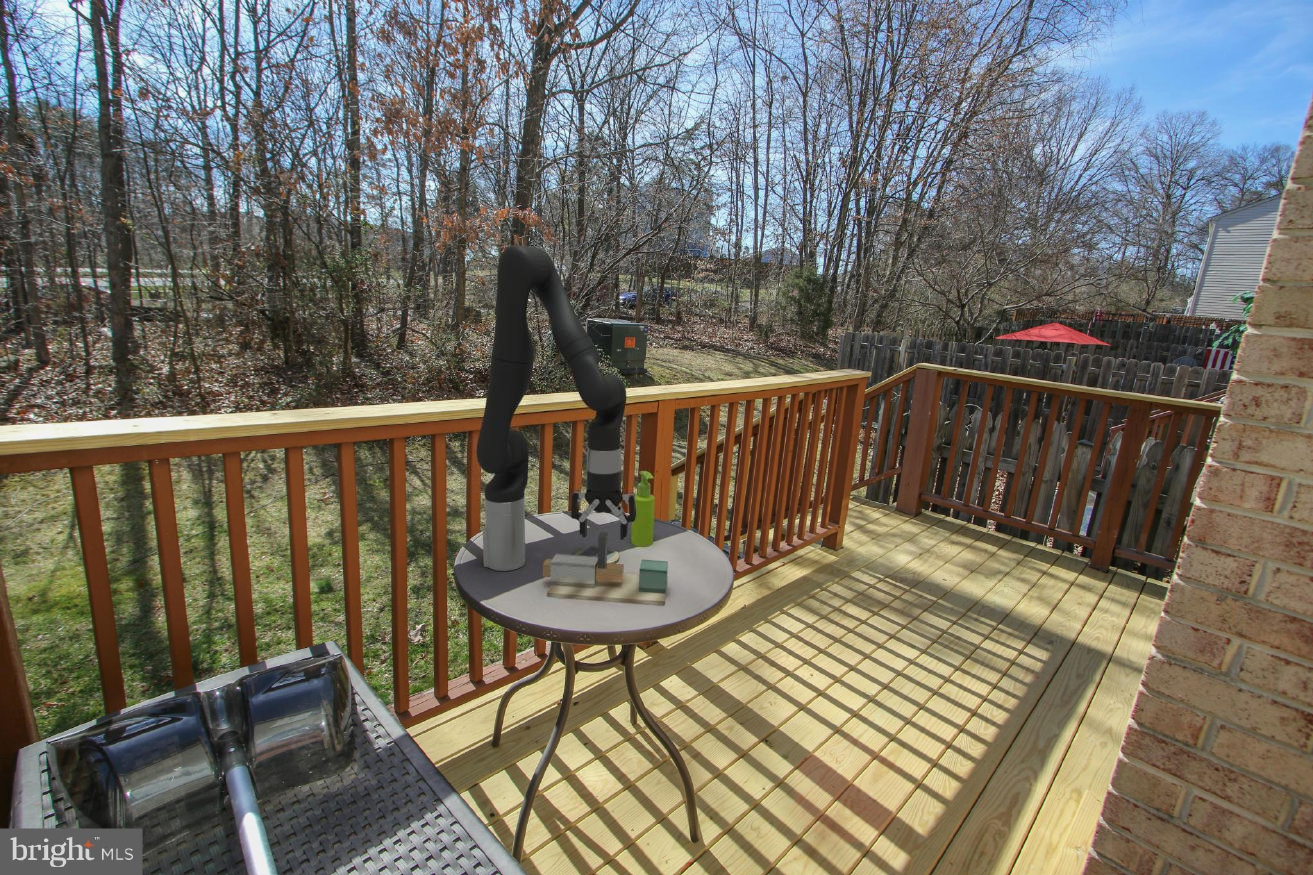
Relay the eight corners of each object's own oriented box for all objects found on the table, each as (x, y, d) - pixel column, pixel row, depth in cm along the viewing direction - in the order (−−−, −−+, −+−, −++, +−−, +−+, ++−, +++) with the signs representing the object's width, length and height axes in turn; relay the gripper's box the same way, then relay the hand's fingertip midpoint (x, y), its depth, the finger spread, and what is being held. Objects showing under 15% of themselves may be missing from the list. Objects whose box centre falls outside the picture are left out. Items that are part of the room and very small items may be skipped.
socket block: (638, 591, 137) (639, 569, 135) (640, 581, 141) (641, 559, 140) (665, 593, 136) (666, 570, 135) (666, 583, 141) (667, 561, 140)
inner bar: (543, 576, 139) (542, 533, 136) (546, 570, 142) (546, 528, 139) (621, 582, 138) (622, 538, 135) (623, 576, 140) (624, 533, 138)
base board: (546, 596, 135) (546, 592, 135) (559, 572, 146) (559, 568, 146) (664, 605, 133) (664, 601, 133) (667, 580, 145) (667, 576, 144)
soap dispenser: (637, 549, 161) (640, 477, 157) (628, 539, 168) (630, 469, 163) (657, 546, 164) (660, 475, 159) (647, 537, 170) (650, 468, 165)
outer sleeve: (550, 585, 138) (550, 562, 137) (555, 575, 143) (555, 553, 142) (594, 588, 137) (594, 565, 136) (598, 578, 142) (598, 556, 141)
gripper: (568, 470, 130) (568, 542, 134) (634, 473, 129) (633, 545, 133) (575, 461, 137) (575, 529, 141) (638, 464, 136) (637, 532, 140)
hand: (603, 537), depth 137 cm, fingers open, 8 cm apart
